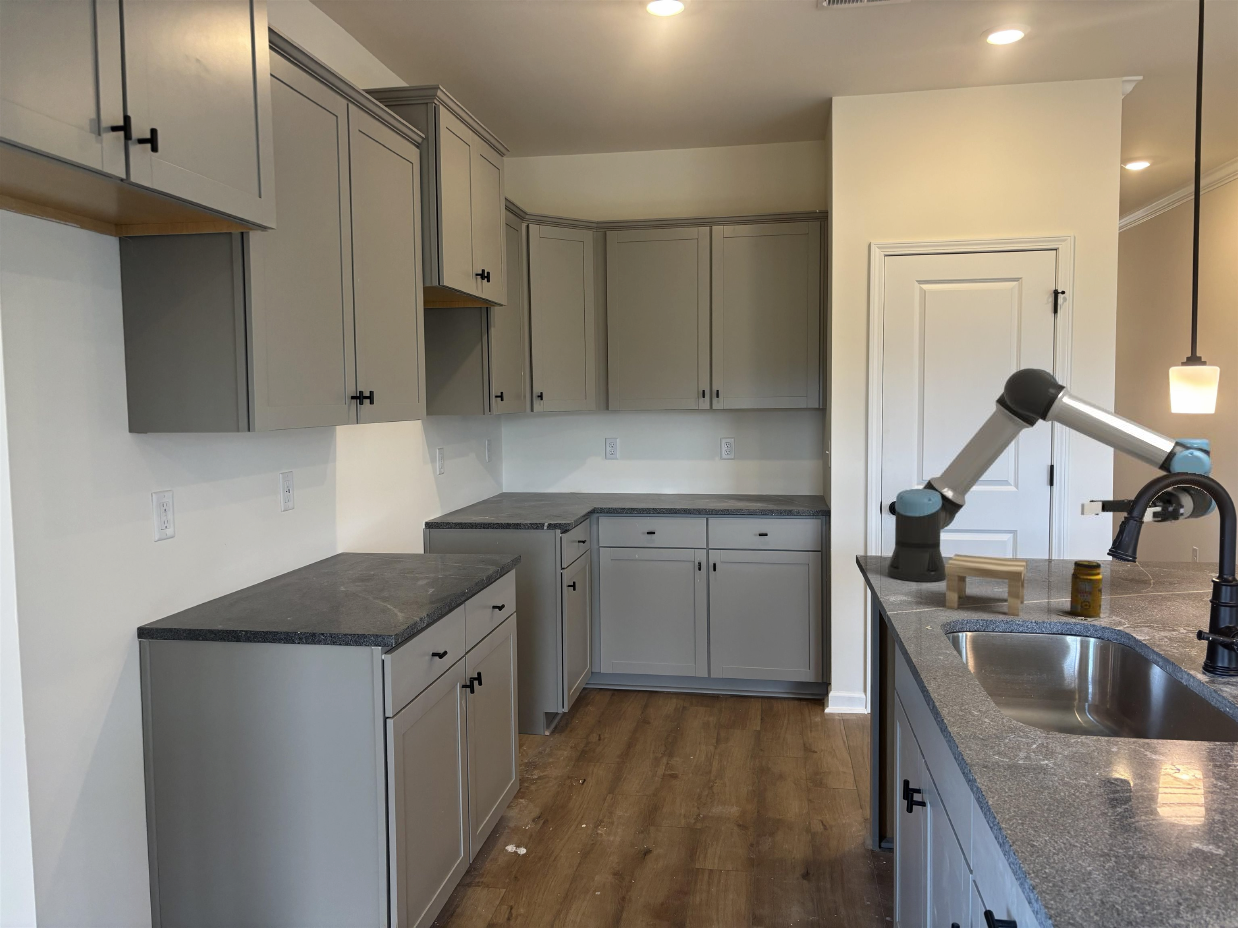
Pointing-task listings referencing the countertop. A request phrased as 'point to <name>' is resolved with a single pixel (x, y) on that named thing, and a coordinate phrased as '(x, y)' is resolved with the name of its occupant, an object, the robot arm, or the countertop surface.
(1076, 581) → the condiment
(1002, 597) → the countertop surface
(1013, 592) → the stool
